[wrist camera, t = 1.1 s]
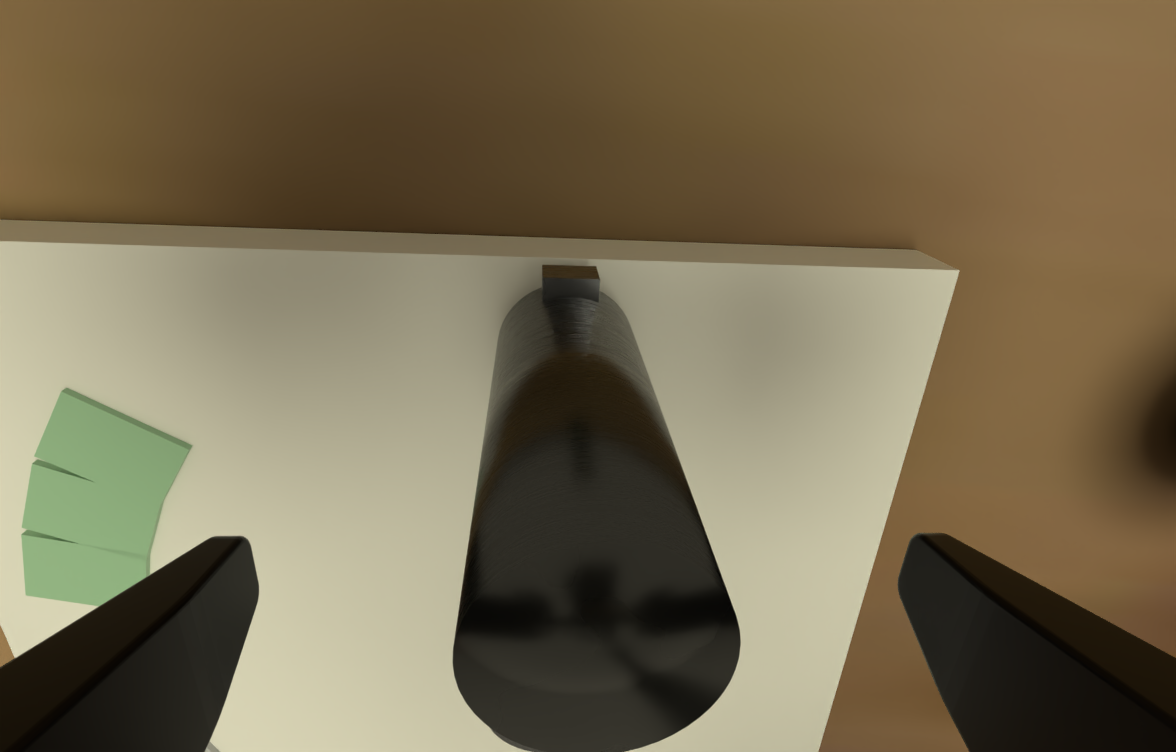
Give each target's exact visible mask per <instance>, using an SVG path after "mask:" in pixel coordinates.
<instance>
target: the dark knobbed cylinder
mask: <svg viewBox="0 0 1176 752" xmlns="http://www.w3.org/2000/svg"><path fill="white" fill-rule="evenodd" d="M599 289H600V277H599V274H598V271H597V267H596V266H571V265H542V287H541V288H539V289H536V290H534V291H532V292H530V293H529V294H527V295H525V296H524V297H523V298H522V299H520V300H519V301H518V302H517V303H516V304H515V305H514V306H513V307H512V308H511V310H510V311H509V312H508V314H507V315H506V317H505V319H504V321H503V323H502V326H501V328H500V331H499V336H498V342H497V349H496V355H495V362H494V369H493V376H492V383H491V390H490V397H489V404H488V411H487V418H486V425H485V432H484V438H483V445H482V452H481V459H480V466H479V473H478V480H477V487H476V494H475V501H474V508H473V514H472V521H471V528H470V535H469V542H468V549H467V556H466V563H465V570H464V577H463V584H462V591H461V597H460V604H459V611H458V618H457V625H456V632H455V639H454V646H453V662H452V663H453V670H454V677H455V680H456V683H457V686H458V689H459V691H460V693H461V695H462V697H463V699H464V700H465V702H466V704H467V705H468V706H469V707H470V709H471V710H472V711H473V713H474V714H475V715H476V716H477V717H478V718H479V719H480V720H481V721H482V722H484V723H485V724H486V725H487V726H489V728H490V729H491V730H492V732H493V733H494V734H496V735H497V736H498V737H499V738H500V739H502V740H503V741H504V742H506V743H508V744H510V745H512V746H514V747H517V748H519V749H522V750H526V751H530V752H626V751H630V750H634V749H638V748H642V747H645V746H647V745H650V744H653V743H656V742H659V741H661V740H663V739H665V738H667V737H669V736H672V735H674V734H675V733H677V732H679V731H681V730H682V729H684V728H686V727H687V726H689V725H690V724H692V723H693V722H694V721H696V720H697V719H698V718H700V717H701V716H702V715H703V714H704V713H705V712H706V711H708V710H709V709H710V708H711V707H712V706H713V705H714V703H715V702H716V701H717V700H718V699H719V698H720V696H721V695H722V694H723V692H724V691H725V689H726V688H727V686H728V685H729V683H730V681H731V679H732V677H733V674H734V672H735V670H736V666H737V663H738V660H739V654H740V646H741V640H740V628H739V625H738V621H737V617H736V614H735V611H734V608H733V606H732V603H731V600H730V597H729V595H728V592H727V589H726V586H725V584H724V581H723V578H722V575H721V573H720V570H719V567H718V564H717V562H716V559H715V556H714V553H713V551H712V548H711V545H710V542H709V540H708V537H707V534H706V531H705V529H704V526H703V523H702V520H701V518H700V515H699V512H698V509H697V507H696V504H695V501H694V499H693V496H692V493H691V490H690V488H689V485H688V482H687V479H686V477H685V474H684V471H683V468H682V466H681V463H680V460H679V457H678V455H677V452H676V449H675V446H674V444H673V441H672V438H671V435H670V433H669V430H668V427H667V424H666V422H665V419H664V416H663V413H662V411H661V408H660V405H659V402H658V400H657V397H656V394H655V392H654V389H653V386H652V383H651V381H650V378H649V375H648V372H647V370H646V367H645V364H644V361H643V359H642V356H641V353H640V350H639V348H638V345H637V342H636V339H635V337H634V334H633V331H632V328H631V326H630V323H629V321H628V319H627V317H626V315H625V314H624V312H623V310H622V309H621V308H620V307H619V306H618V304H617V303H616V302H615V301H613V300H612V299H611V298H610V297H609V296H607V295H606V294H604V293H603V292H601V291H599Z"/></svg>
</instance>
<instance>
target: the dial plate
mask: <svg viewBox="0 0 1176 752" xmlns="http://www.w3.org/2000/svg"><path fill="white" fill-rule="evenodd" d="M542 265H571V266H596V267H597V271H598V274H599V277H600V289H599V291H601V292H603V293H604V294H606V295H607V296H609V297H610V298H611V299H612V300H613V301H615V302H616V303H617V304H618V306H619V307H620V308H621V309H622V310H623V312H624V314H625V315H626V317H627V319H628V321H629V323H630V326H631V328H632V331H633V334H634V337H635V339H636V342H637V345H638V348H639V350H640V353H641V356H642V359H643V361H644V364H645V367H646V370H647V372H648V375H649V378H650V381H651V383H652V386H653V389H654V392H655V394H656V397H657V400H658V402H659V405H660V408H661V411H662V413H663V416H664V419H665V422H666V424H667V427H668V430H669V433H670V435H671V438H672V441H673V444H674V446H675V449H676V452H677V455H678V457H679V460H680V463H681V466H682V468H683V471H684V474H685V477H686V479H687V482H688V485H689V488H690V490H691V493H692V496H693V499H694V501H695V504H696V507H697V509H698V512H699V515H700V518H701V520H702V523H703V526H704V529H705V531H706V534H707V537H708V540H709V542H710V545H711V548H712V551H713V553H714V556H715V559H716V562H717V564H718V567H719V570H720V573H721V575H722V578H723V581H724V584H725V586H726V589H727V592H728V595H729V597H730V600H731V603H732V606H733V608H734V611H735V614H736V617H737V621H738V625H739V628H740V640H741V646H740V654H739V660H738V663H737V666H736V670H735V672H734V674H733V677H732V679H731V681H730V683H729V685H728V686H727V688H726V689H725V691H724V692H723V694H722V695H721V696H720V698H719V699H718V700H717V701H716V702H715V703H714V705H713V706H712V707H711V708H710V709H709V710H708V711H706V712H705V713H704V714H703V715H702V716H701V717H700V718H698V719H697V720H696V721H694V722H693V723H692V724H690V725H689V726H687V727H686V728H684V729H682V730H681V731H679V732H677V733H675V734H674V735H672V736H669V737H667V738H665V739H663V740H661V741H659V742H656V743H653V744H650V745H647V746H645V747H642V748H638V749H634V750H630V751H626V752H818V751H819V748H820V744H821V741H822V737H823V734H824V731H825V727H826V724H827V720H828V717H829V714H830V710H831V707H832V703H833V700H834V697H835V693H836V690H837V686H838V683H839V679H840V676H841V673H842V669H843V666H844V662H845V659H846V656H847V652H848V649H849V645H850V642H851V639H852V635H853V632H854V628H855V625H856V622H857V618H858V615H859V611H860V608H861V605H862V601H863V598H864V594H865V591H866V588H867V584H868V581H869V577H870V574H871V571H872V567H873V564H874V560H875V557H876V553H877V550H878V547H879V543H880V540H881V536H882V533H883V530H884V526H885V523H886V519H887V516H888V513H889V509H890V506H891V502H892V499H893V496H894V492H895V489H896V485H897V482H898V479H899V475H900V472H901V468H902V465H903V462H904V458H905V455H906V451H907V448H908V445H909V441H910V438H911V434H912V431H913V427H914V424H915V421H916V417H917V414H918V410H919V407H920V404H921V400H922V397H923V393H924V390H925V387H926V383H927V380H928V376H929V373H930V370H931V366H932V363H933V359H934V356H935V353H936V349H937V346H938V342H939V339H940V336H941V332H942V329H943V325H944V322H945V319H946V315H947V312H948V308H949V305H950V302H951V298H952V295H953V291H954V288H955V284H956V281H957V278H958V274H959V271H960V270H958V269H956V268H954V267H952V266H950V265H947V264H945V263H943V262H941V261H939V260H937V259H935V258H933V257H931V256H929V255H926V254H924V253H922V252H920V251H918V250H907V249H876V248H846V247H816V246H786V245H755V244H725V243H695V242H664V241H634V240H604V239H573V238H543V237H513V236H482V235H452V234H422V233H391V232H361V231H331V230H300V229H270V228H240V227H209V226H179V225H149V224H119V223H88V222H58V221H28V220H0V625H1V627H2V629H3V632H4V634H5V636H6V639H7V641H8V643H9V646H10V648H11V650H12V652H13V655H14V657H15V658H16V657H18V656H19V655H21V654H23V653H24V652H26V651H27V650H29V649H31V648H32V647H34V646H36V645H37V644H39V643H40V642H42V641H44V640H45V639H47V638H48V637H50V636H52V635H53V634H55V633H57V632H58V631H60V630H61V629H63V628H65V627H66V626H68V625H69V624H71V623H73V622H74V621H76V620H78V619H79V618H81V617H82V616H84V615H86V614H87V613H89V612H90V611H92V610H94V609H95V608H97V607H99V606H100V605H102V604H103V603H105V602H107V601H108V600H110V599H111V598H113V597H115V596H116V595H118V594H120V593H121V592H123V591H124V590H126V589H128V588H129V587H131V586H132V585H134V584H136V583H137V582H139V581H141V580H142V579H144V578H145V577H147V576H149V575H150V574H152V573H154V572H155V571H157V570H158V569H160V568H162V567H163V566H165V565H166V564H168V563H170V562H171V561H173V560H175V559H176V558H178V557H179V556H181V555H183V554H184V553H186V552H187V551H189V550H191V549H192V548H194V547H196V546H197V545H199V544H200V543H202V542H204V541H205V540H207V539H209V538H211V537H214V536H244V537H246V538H247V539H248V540H249V542H250V544H251V548H252V553H253V558H254V563H255V568H256V572H257V577H258V582H259V598H258V603H257V606H256V610H255V613H254V616H253V619H252V622H251V625H250V628H249V631H248V634H247V637H246V640H245V643H244V646H243V649H242V652H241V656H240V659H239V662H238V665H237V668H236V671H235V674H234V677H233V680H232V683H231V686H230V689H229V692H228V695H227V698H226V701H225V704H224V707H223V710H222V712H221V715H220V718H219V720H218V723H217V725H216V727H215V730H214V732H213V735H212V737H211V739H210V741H209V744H208V746H207V748H206V750H205V752H530V751H526V750H522V749H519V748H517V747H514V746H512V745H510V744H508V743H506V742H504V741H503V740H502V739H500V738H499V737H498V736H497V735H496V734H494V733H493V732H492V730H491V729H490V728H489V726H487V725H486V724H485V723H484V722H482V721H481V720H480V719H479V718H478V717H477V716H476V715H475V714H474V713H473V711H472V710H471V709H470V707H469V706H468V705H467V704H466V702H465V700H464V699H463V697H462V695H461V693H460V691H459V689H458V686H457V683H456V680H455V677H454V670H453V663H452V662H453V646H454V639H455V632H456V625H457V618H458V611H459V604H460V597H461V591H462V584H463V577H464V570H465V563H466V556H467V549H468V542H469V535H470V528H471V521H472V514H473V508H474V501H475V494H476V487H477V480H478V473H479V466H480V459H481V452H482V445H483V438H484V432H485V425H486V418H487V411H488V404H489V397H490V390H491V383H492V376H493V369H494V362H495V355H496V349H497V342H498V336H499V331H500V328H501V326H502V323H503V321H504V319H505V317H506V315H507V314H508V312H509V311H510V310H511V308H512V307H513V306H514V305H515V304H516V303H517V302H518V301H519V300H520V299H522V298H523V297H524V296H525V295H527V294H529V293H530V292H532V291H534V290H536V289H539V288H541V287H542Z"/></svg>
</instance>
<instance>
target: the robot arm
mask: <svg viewBox="0 0 1176 752" xmlns="http://www.w3.org/2000/svg"><path fill="white" fill-rule="evenodd" d="M898 591H899V595H900V598H901V601H902V603H903V606H904V608H905V611H906V613H907V616H908V618H909V620H910V623H911V625H912V628H913V630H914V633H915V635H916V638H917V640H918V643H919V645H920V647H921V650H922V652H923V655H924V657H925V660H926V662H927V665H928V667H929V669H930V672H931V674H932V677H933V679H934V682H935V684H936V686H937V688H938V691H939V693H940V695H941V697H942V700H943V702H944V704H945V706H946V708H947V710H948V712H949V714H950V716H951V718H952V719H953V721H954V723H955V725H956V727H957V729H958V731H959V733H960V735H961V737H962V739H963V740H964V742H965V744H966V746H967V748H968V750H969V752H1176V658H1175V657H1173V656H1171V655H1169V654H1167V653H1165V652H1164V651H1162V650H1160V649H1158V648H1156V647H1154V646H1153V645H1151V644H1149V643H1147V642H1145V641H1143V640H1141V639H1140V638H1138V637H1136V636H1134V635H1132V634H1130V633H1129V632H1127V631H1125V630H1123V629H1121V628H1119V627H1117V626H1116V625H1114V624H1112V623H1110V622H1108V621H1106V620H1105V619H1103V618H1101V617H1099V616H1097V615H1095V614H1093V613H1092V612H1090V611H1088V610H1086V609H1084V608H1082V607H1081V606H1079V605H1077V604H1075V603H1073V602H1071V601H1069V600H1068V599H1066V598H1064V597H1062V596H1060V595H1058V594H1057V593H1055V592H1053V591H1051V590H1049V589H1047V588H1045V587H1044V586H1042V585H1040V584H1038V583H1036V582H1034V581H1033V580H1031V579H1029V578H1027V577H1025V576H1023V575H1021V574H1020V573H1018V572H1016V571H1014V570H1012V569H1010V568H1009V567H1007V566H1005V565H1003V564H1001V563H999V562H997V561H996V560H994V559H992V558H990V557H988V556H986V555H985V554H983V553H981V552H979V551H977V550H975V549H973V548H972V547H970V546H968V545H966V544H964V543H962V542H960V541H959V540H957V539H955V538H953V537H951V536H949V535H947V534H944V533H918V534H916V535H914V536H913V537H912V538H911V540H910V542H909V545H908V548H907V551H906V554H905V558H904V561H903V564H902V567H901V570H900V574H899V577H898ZM258 598H259V582H258V577H257V572H256V568H255V563H254V558H253V553H252V548H251V544H250V542H249V540H248V539H247V538H246V537H244V536H214V537H211V538H209V539H207V540H205V541H204V542H202V543H200V544H199V545H197V546H196V547H194V548H192V549H191V550H189V551H187V552H186V553H184V554H183V555H181V556H179V557H178V558H176V559H175V560H173V561H171V562H170V563H168V564H166V565H165V566H163V567H162V568H160V569H158V570H157V571H155V572H154V573H152V574H150V575H149V576H147V577H145V578H144V579H142V580H141V581H139V582H137V583H136V584H134V585H132V586H131V587H129V588H128V589H126V590H124V591H123V592H121V593H120V594H118V595H116V596H115V597H113V598H111V599H110V600H108V601H107V602H105V603H103V604H102V605H100V606H99V607H97V608H95V609H94V610H92V611H90V612H89V613H87V614H86V615H84V616H82V617H81V618H79V619H78V620H76V621H74V622H73V623H71V624H69V625H68V626H66V627H65V628H63V629H61V630H60V631H58V632H57V633H55V634H53V635H52V636H50V637H48V638H47V639H45V640H44V641H42V642H40V643H39V644H37V645H36V646H34V647H32V648H31V649H29V650H27V651H26V652H24V653H23V654H21V655H19V656H18V657H16V658H14V659H13V660H11V661H10V662H8V663H6V664H5V665H3V666H2V667H0V752H205V750H206V748H207V746H208V744H209V741H210V739H211V737H212V735H213V732H214V730H215V727H216V725H217V723H218V720H219V718H220V715H221V712H222V710H223V707H224V704H225V701H226V698H227V695H228V692H229V689H230V686H231V683H232V680H233V677H234V674H235V671H236V668H237V665H238V662H239V659H240V656H241V652H242V649H243V646H244V643H245V640H246V637H247V634H248V631H249V628H250V625H251V622H252V619H253V616H254V613H255V610H256V606H257V603H258Z"/></svg>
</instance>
